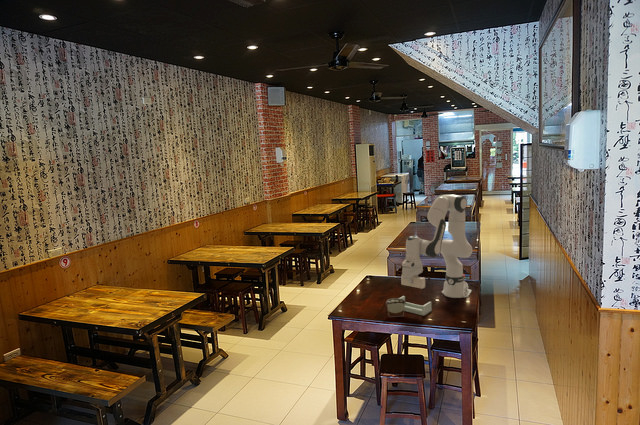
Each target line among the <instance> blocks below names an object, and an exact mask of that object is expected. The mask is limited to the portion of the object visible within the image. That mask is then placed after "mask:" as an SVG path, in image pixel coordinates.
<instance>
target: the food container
mask: <svg viewBox="0 0 640 425" xmlns="http://www.w3.org/2000/svg"><path fill="white" fill-rule="evenodd" d="M399 298H400V297H398V298H397V297H396V298H395V297H392V298H389V299H387V300H386V302H385V305H386V306H387V315H388V318H396V317H397V318H398V317H400V318H401V317H404V315H405V311H404V307H405V304H406V302H407V301H406V299H405V300H403V299H399Z"/></svg>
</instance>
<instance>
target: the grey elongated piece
mask: <svg viewBox="0 0 640 425" xmlns="http://www.w3.org/2000/svg"><path fill="white" fill-rule="evenodd" d="M398 298H399V299H403V300H405V302H406V304H405V307H404V312H408V313H411V314H416V315H419V316H426V315H428V314H429V313H431V312H432V301H428V302H427V303H425V304H423V305H421V304H417V303H416V304H415V303H412V302H407V301H406V296H405V295H402V296H401V297H398Z"/></svg>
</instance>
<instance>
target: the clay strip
mask: <svg viewBox="0 0 640 425" xmlns="http://www.w3.org/2000/svg"><path fill="white" fill-rule="evenodd" d="M400 278H401V279H400V282H401V283H400V284H401V285H402V286H407V287H412V288H417V289H425V288H426V277H424V276H423V277H421V276H419V275H418V276H414V277H412V281H413V283H412V284H409V280H408V279H404V278H403V277H402V275H401V277H400Z"/></svg>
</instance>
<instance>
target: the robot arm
mask: <svg viewBox="0 0 640 425" xmlns="http://www.w3.org/2000/svg"><path fill="white" fill-rule="evenodd" d="M467 206H468V200H467V198H466V196H464V195H459V194H458V195H457V194H439V195H437V197H436V198H435V200H434V201H433V202H432V204H431V206H430V208H429V209H428V212H427V216H426V217H427V220H428V222H429V223H430V224H431V225H432V226H433V227H435V232H434V236H433V239H432V240H427V239H423V238H420V237H419V236H418V235H410V236H407V237H406V241H405V252H406V254H405V259H404V261H402V263H401V267H402V270H401V274H402V277H403V278H404V279H408V280H409V284H412V283H413V281H412V277H414V276H418V277H419V275H420V274H422V273H423V271H424V269H423V267H424V266H423V262H422V259H421V256H420V255H423V256H427V257H430V258H432V259H433V258H436V257H438V256H439V254H441V256H442V257H443V259H444V261H445V266H446V268H445V270H446V272H445V281H444V282H443V290H441V293H442V294H443V295H444V296H445V297H448V298H451V299H452V298H453V299H457V298H458V299H461V298H468V297H469V296H470V295H471V293H472V289H469V284H468V283H467V282H466V281H465V278H466V274H464V268H463V267H464V266H463V263H462V262H461V261H460V260H459V258H460V259H463V258H465V259H466V258H469V257H471V255H472V254H473V247H472V244H470V243H469V241H468V239H467V236H466V232H465V231H466V209H467ZM448 212H449V214H448ZM447 214H448V222H446V220H445V218H446V215H447ZM446 227H447V231H448V234H450V235H451V236H452V239H444V236H445V232H446Z"/></svg>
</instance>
